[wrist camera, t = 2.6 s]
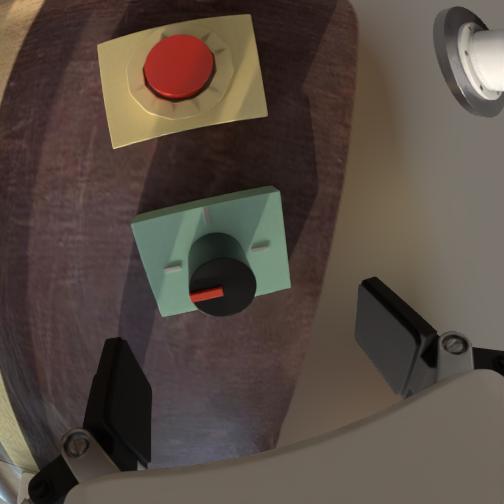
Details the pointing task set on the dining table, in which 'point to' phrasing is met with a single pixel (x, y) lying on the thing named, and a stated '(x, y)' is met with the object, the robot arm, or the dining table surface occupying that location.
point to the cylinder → (24, 487)
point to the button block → (192, 107)
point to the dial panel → (204, 222)
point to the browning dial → (220, 275)
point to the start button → (179, 66)
